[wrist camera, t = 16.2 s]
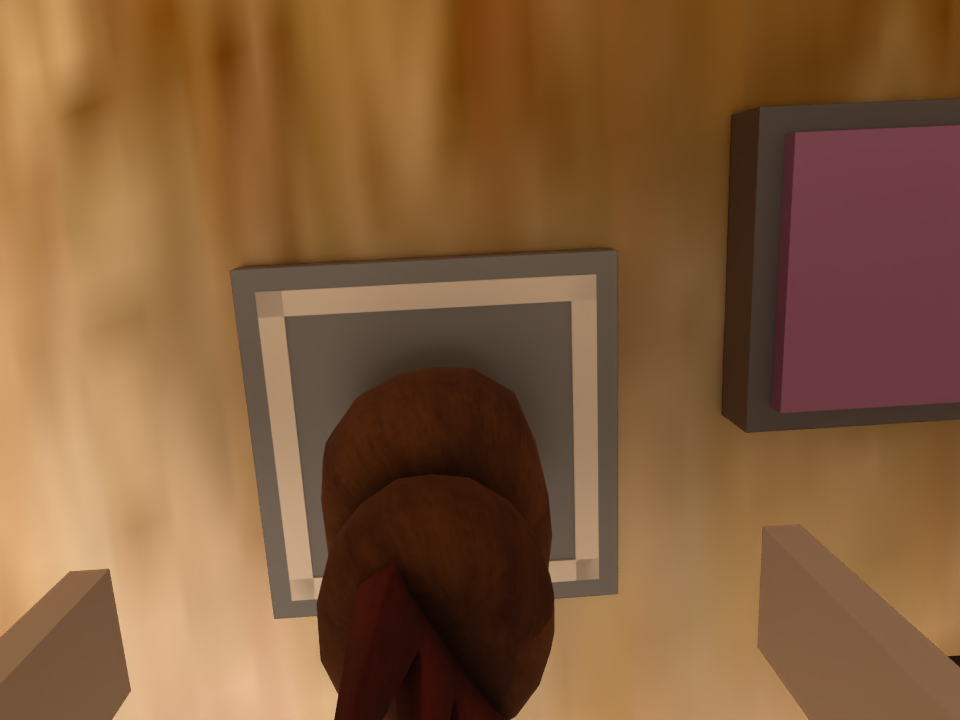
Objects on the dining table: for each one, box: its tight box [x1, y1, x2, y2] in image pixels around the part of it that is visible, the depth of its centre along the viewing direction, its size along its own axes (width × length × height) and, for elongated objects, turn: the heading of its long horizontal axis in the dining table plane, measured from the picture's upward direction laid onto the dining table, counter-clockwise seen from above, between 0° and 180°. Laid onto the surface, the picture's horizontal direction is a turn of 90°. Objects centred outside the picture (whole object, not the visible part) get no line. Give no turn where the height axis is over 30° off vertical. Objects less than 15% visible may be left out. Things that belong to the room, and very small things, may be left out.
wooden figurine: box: [316, 367, 554, 720], centre depth 15 cm, size 7×6×15 cm
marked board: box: [230, 248, 618, 619], centre depth 23 cm, size 12×12×1 cm
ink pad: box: [722, 98, 960, 433], centre depth 22 cm, size 10×10×3 cm
